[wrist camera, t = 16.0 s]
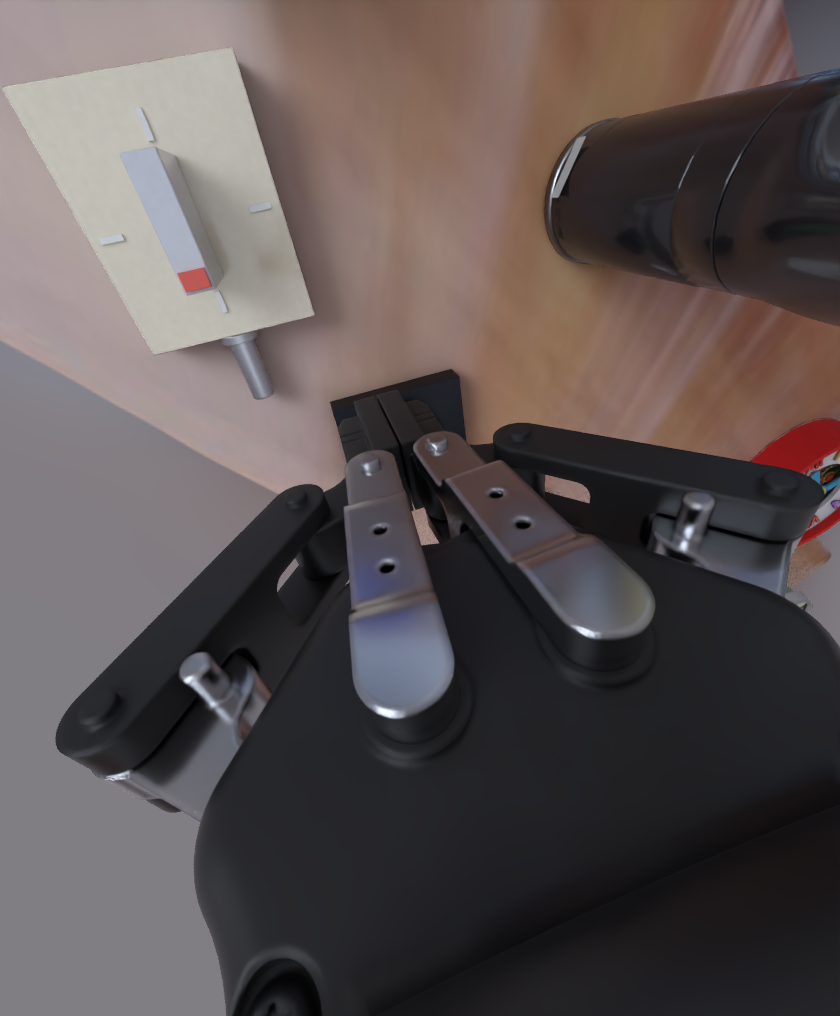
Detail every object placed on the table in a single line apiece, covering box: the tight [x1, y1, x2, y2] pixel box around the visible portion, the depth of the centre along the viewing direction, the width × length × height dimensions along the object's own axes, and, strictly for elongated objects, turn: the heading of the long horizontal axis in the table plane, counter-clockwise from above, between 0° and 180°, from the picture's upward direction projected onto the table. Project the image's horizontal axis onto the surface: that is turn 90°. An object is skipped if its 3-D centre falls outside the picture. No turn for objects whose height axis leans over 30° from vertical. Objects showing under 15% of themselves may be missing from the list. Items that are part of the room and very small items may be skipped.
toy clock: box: [751, 418, 840, 546], centre depth 63 cm, size 20×6×20 cm
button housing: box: [330, 369, 466, 441], centre depth 41 cm, size 12×10×4 cm
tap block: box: [2, 47, 315, 355], centre depth 28 cm, size 12×14×3 cm
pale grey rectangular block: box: [120, 147, 224, 296], centre depth 24 cm, size 6×2×5 cm, turn 10°
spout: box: [220, 330, 275, 399], centre depth 33 cm, size 3×5×3 cm, turn 10°
